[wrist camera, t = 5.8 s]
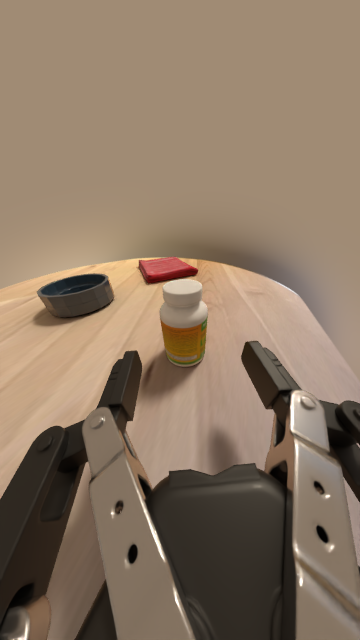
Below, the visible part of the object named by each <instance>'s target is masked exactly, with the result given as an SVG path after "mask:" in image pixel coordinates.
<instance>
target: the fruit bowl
mask: <svg viewBox="0 0 360 640" xmlns="http://www.w3.org/2000/svg"><path fill="white" fill-rule="evenodd" d="M37 294H38V296H39V297H40V299H41V300H42V302H43V303H44V305H45V306H46V307H47V309H48V310H49V312H50V313H51V314H52V315H54V316H58V317H73V316H77V315H82V314H86V313H90V312H92V311H95V310H97V309H100V308H102V307H103V306H105V305H107V304H108V303H110V302H111V301H112V299H113V298H114V292H113V289H112V286H111V283H110V280H109V278H108V276H106V275H104V274H83V275H77V276H72V277H68V278H64V279H60V280H57V281H54V282H51V283H49V284H47V285H45V286H43V287H41V288H40V289H39V290H38V291H37Z"/></svg>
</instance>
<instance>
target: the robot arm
mask: <svg viewBox="0 0 360 640" xmlns="http://www.w3.org/2000/svg"><path fill="white" fill-rule="evenodd" d="M241 359H242V363H243V365H244V367H245V369H246V371H247V373H248V375H249V377H250V379H251V381H252V383H253V385H254V387H255V389H256V391H257V393H258V395H259V397H260V399H261V401H262V402H263V404H264V406H265V408H266V409H273V410H274V412H275V414H274V420H273V428H272V436H271V445H270V449H269V452H268V454H267V458H266V462H265V469H264V471H262V470H260V469H257V467H256V465H255V463H252V464H241V465H233V466H232V467H230V468H228V469H226V470H224V471H222V472H220V473H218V474H217V475H214V476H213V475H208V474H205V473H201V472H198V471H194V470H191V469H189V470H178V471H169V476H168V477H166V478H164V479H163V480H161V481H160V482H159V483H158V484H157V485H156V486H155V487H154V489H153V488H152V486H151V483H150V481H149V479H148V477H147V474H146V472H145V470H144V468H143V466H142V465H141V463H140V461H139V459H138V457H137V455H136V452H135V450H134V448H133V445H132V443H131V441H130V439H129V436H128V434H127V432H126V430H125V429H126V424H127V421H133V417H134V411H135V406H136V400H137V395H138V390H139V384H140V379H141V373H142V363H141V360H140V357H139V354H138V352H137V350H136V351H126V352H125V354H124V357H123V359H119V360H118V361H117V362H116V363H115V364H114V366H113V368H112V370H111V374H110V376H109V378H108V381H107V383H106V386H105V389H104V391H103V394H102V396H101V399H100V401H99V404H98V406H97V408H96V409H95V410H94V411H93V412H91V413H90V414H89V415H88V417H87V418H86V419H85V420H83V421H81V422H78V423H76V424H74V425H71V426H69V427H67V428H62V427H60V426H53V427H50V428H48V429H47V430H45V431H44V432H42V433H41V434H40V435H39V436H38V437H37V438H36V439H35V441H34V442H33V443H32V445H31V447H30V448H29V450H28V452H27V454H26V455H25V457H24V459H23V461H22V462H21V464H20V466H19V468H18V469H17V471H16V473H15V475H14V476H13V478H12V480H11V482H10V483H9V485H8V487H7V489H6V490H5V492H4V494H3V496H2V497H1V499H0V640H47V638H48V633H49V628H50V622H51V606H50V602H49V600H48V598H47V597H46V596H45V594H46V591H47V588H48V585H49V581H50V578H51V575H52V571H53V568H54V565H55V562H56V558H57V555H58V552H59V548H60V545H61V542H62V539H63V535H64V532H65V529H66V525H67V522H68V519H69V516H70V512H71V509H72V506H73V502H74V499H75V496H76V493H77V489H78V486H79V483H80V479H81V476H82V473H83V470H84V466H85V463H86V462H88V461H89V465H90V470H91V480H90V482H89V495H90V500H91V505H92V510H93V515H94V520H95V525H96V531H97V536H98V541H99V546H100V551H101V556H102V561H103V566H104V571H105V576H106V579H105V581H104V583H103V585H102V587H101V589H100V590H99V592H98V594H97V596H96V598H95V600H94V602H93V604H92V606H91V608H90V610H89V612H88V614H87V616H86V618H85V620H84V622H83V624H82V626H81V628H80V630H79V632H78V634H77V636H76V638H75V639H74V640H360V567H359V566H358V564H357V558H356V552H355V546H354V540H353V534H352V528H351V522H350V516H349V510H348V503H347V497H346V491H345V485H344V479H343V477H344V478H345V480H346V481H347V483H348V485H349V486H350V488H351V489H352V491H353V492H354V494H355V496H356V497H357V499H358V500H359V502H360V448H359V447H358V445H357V443H359V445H360V404H359V403H357V402H354V401H344V402H342V403H341V404H340V405H338V404H334V403H329V402H325V401H321V400H318V399H317V398H316V397H315V396H313V395H312V394H310V393H308V392H306V391H303V390H302V389H301V388H300V387H299V386H298V385H297V383H296V382H295V381H294V379H293V378H292V377H291V376H290V374H289V373H288V372H287V370H286V369H285V368H284V367H283V366H282V364H281V363H280V361H278V359H277V357H276V356H275V355H274V354H273V353H272V352H271V351H270V350H268V349H267V348H263V347H262V346H261V344H260V343H259V342H258V341H250V342H246V343H245V345H244V349H243V352H242V355H241ZM120 511H121V513H120Z"/></svg>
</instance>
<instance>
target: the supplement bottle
mask: <svg viewBox="0 0 360 640" xmlns="http://www.w3.org/2000/svg"><path fill="white" fill-rule="evenodd" d="M163 298H164V301H165V302H164V303H163V305H162V306H161V308H160V320H161V326H162V332H163V338H164V345H165V351H166V355H167V358H168V359H169V360H170V361H171V362H172V363H173V364H175V365H177V366H181V367H189V366H193V365H195V364H197V363H199V362H200V361H201V360H202V358H203V357H204V353H205V343H206V329H207V317H208V309H207V306H206V304H205V303H204V302H203V301H202V284H201V283H200V282H198V281H195V280H190V279H179V280H173V281H170V282H167V283H166V284H164V286H163Z"/></svg>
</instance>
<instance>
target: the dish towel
mask: <svg viewBox="0 0 360 640" xmlns="http://www.w3.org/2000/svg"><path fill="white" fill-rule="evenodd" d="M139 266H140V269H141V271H142V273H143V275H144V277H145V279H146V281H147V282H148V283H152V282H157V281H163V280H168V279H173V278H179V277H184V276H189V275H195V274H197V273H198V269H197V268H194V267H192V266H190V265H188V264H186V263H184V262H182V261H181V260H179V259H178V258H176V257H169V258H161V259H155V260H148V261H143V260H139Z"/></svg>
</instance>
